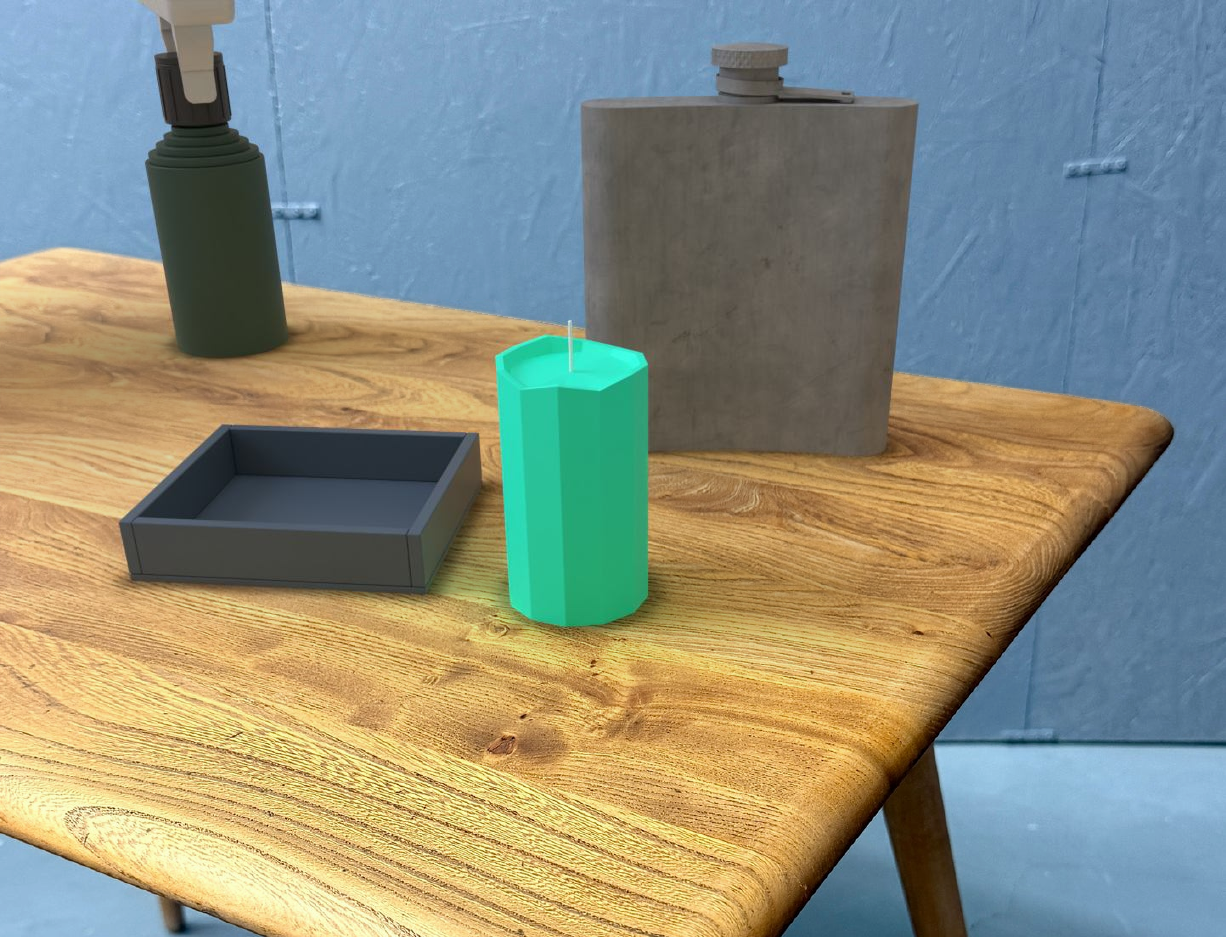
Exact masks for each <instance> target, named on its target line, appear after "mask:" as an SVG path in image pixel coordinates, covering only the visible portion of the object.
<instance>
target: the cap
mask: <svg viewBox="0 0 1226 937" xmlns="http://www.w3.org/2000/svg"><path fill="white" fill-rule="evenodd" d="M153 59H154V64H155V67H154V68H155V69H154V70H155V74H156V81H157V86H158V93H159V100H160V104H161V109H162V110H161V112H162V117H163V120H164V123H165V124H167V125H170V126H171V125H177V126H201V125H212V124H219V123H224V122H228V123H229V122H230V121H231V120H232V116H233V115H232V107H231V101H230V100H231V99H230V93H229V86H228V79H227V72H226V65H225V63H224V55H223V52H221V51H216V50H214V69H213V71H214V78H215V85H216V92H217V96H216V99H215V100H214V101H213V102H211V103H196V104H193V103H191V102H189V101H188V100H187V99H186V98H185V96H184V95H183V91H182V84H181V79H180V72H179V69H180V67H179V62H178V56H177V52H167V53H166V52H161V53H156V54H154V55H153Z"/></svg>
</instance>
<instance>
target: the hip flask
mask: <svg viewBox="0 0 1226 937" xmlns="http://www.w3.org/2000/svg"><path fill="white" fill-rule="evenodd" d="M710 56H711V57H710V59H711V60H710V64H711V66H714V67H719V68H718V69H719V70H718V72H717V73H716V74H715V86H714V89H715V90H716V91H717V95H684V96H683V95H679V96H677V95H675V96H641V97H640V96H636V97H607V98H593V99H587V100H584V101H581V102H580V141H581V144H580V145H581V147H580V148H581V185H582V186H581V187H582V188H581V189H582V228H583V229H582V231H583V234H582V235H583V271H584V273H583V276H584V277H583V278H584V280H583V281H584V282H583V283H584V317H585V318H584V319H585V320H584V322H585V323H584V324H585V325H584V326H585V339H586V340H590V341H595V342H599V343H603V344H608V345H612V346H617V347H621V348H625V349H629V350H633V351H636V352H640V353H643V355H644V357H645V359H646V361H647V363H648V453H654V452H657V453H658V452H687V451H691V452H693V451H739V452H741V451H745V452H747V451H749V452H752V451H753V452H782V453H783V452H786V453H803V454H804V453H805V454H819V455H820V454H821V455H833V456H845V457H857V458H859V457H864V458H865V457H872V456H875V455H880V454H882V453H883V452H885V451H886V449H887V444H888V443H887V442H888V433H889V432H888V431H889V421H890V410H891V400H892V390H893V378H894V369H895V358H896V347H897V336H898V327H899V315H900V306H901V295H902V285H903V275H904V274H903V273H904V264H905V253H906V242H907V241H906V240H907V234H908V233H907V232H908V221H909V211H910V202H911V189H912V180H913V171H914V170H913V167H914V158H915V148H916V138H917V126H918V117H919V108H920V107H919V106H920V102H919V101H918V100H916V99H912V98H906V97H895V96H894V97H893V96H865V95H863V96H862V95H861V96H860V95H859V96H858V95H856V96H855V92H854V91H852V90H842V89H841V90H840V89H825V88H814V87H798V86H788V85H787V86H785V85H784V82H785V78H784V77H782V76H779V75H780V67H783V66H784V67H785V66H787V65H788V63H789V62H788V61H789V46H788V45H784V44H780V43H779V44H778V43H770V42H760V41H759V42H757V41H742V42H732V43H731V42H730V43H723V44H715V45H712V46H711V51H710Z"/></svg>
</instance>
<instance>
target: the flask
mask: <svg viewBox="0 0 1226 937" xmlns="http://www.w3.org/2000/svg"><path fill="white" fill-rule="evenodd" d="M162 138H163V139H161V140H158V141H157V142H156V143H155V148H153V149H151V150H149V151H148V152H147V157H148V158H147V159H146V160H145V161H144V166H145V171H146V177H147V183H148V189H149V194H150V200H151V205H152V210H153V217H154V221H155V222H154V223H155V228H156V233H157V239H158V245H159V250H160V256H161V262H162V267H163V272H164V277H165V278H164V279H165V284H166V289H167V296H168V300H169V306H170V311H171V317H172V323H173V329H174V334H175V341H176V345H177V349H178V350H179V352H181V353H183V354H185V355H188V356H191V357H197V358H204V359H232V358H241V357H249V356H253V355H258V354H263V353H266V352H270V351H272V350H275V349H277V348H280V347H282V346H283V345H285V344H286V343H288V341H289V338H290V336H289V328H288V323H287V314H286V313H287V312H286V307H285V299H284V293H283V291H284V290H283V285H282V278H281V270H280V263H279V255H278V248H277V240H276V234H275V232H276V231H275V225H274V217H273V211H272V210H273V209H272V203H271V196H270V189H269V188H270V187H269V180H268V174H267V166H266V159H265V154H264V153H262V152H261V151H260V147H259V145H257V144H255V143H253V142H250V140H249V138H248V137H247V136H245V135H240V132H239V130H238V129H237V128H232V127H230V124H229V121H228V122H224V123H219V124H212V125H201V126H177V125H170V130H169V131H167V132H165V133H163V135H162Z"/></svg>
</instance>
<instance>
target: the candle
mask: <svg viewBox="0 0 1226 937" xmlns="http://www.w3.org/2000/svg"><path fill="white" fill-rule="evenodd" d="M567 330H568V332H567V333H568V334H567V335H568V336H561V335H552V334H542V335H541V336H537V337H534V338H532V339H529V340H526V341H524V342H521V343H518V344H515V345H512V346H511V347H509V348H507V349H505V350H504V351H501V352H500V353H498V354H496V355H495V356H494V357H495V360H494V361H495V372H496V373H495V374H496V389H497V390H496V391H497V393H496V394H497V409H498V424H499V425H498V426H499V427H498V428H499V443H500V461H501V474H502V475H501V476H502V477H501V478H502V493H503V494H502V496H503V511H504V512H503V513H504V527H505V528H504V529H505V544H506V546H505V547H506V561H507V562H506V563H507V578H508V579H507V580H508V591H509V592H508V594H509V603H510V606H511V607H512V608H513V609H514V610H517V611H518V612H519V613H521V614H522V615H523V616H525V617H526V618H528V619H529V620H530V621H536V622H540V623H545V624H550V625H555V626H558V627H559V626H560V627H564V628H570V627H585V626H598V625H599V626H600V625H605V624H609V623H611V622H613V621H616V620H619V619H621V618H624V617H627V616H629V615H632V614H634V613H635V612H636V611H637V610H638V609H639V608H640V607H641V606H642V604H644V602H645V601H646V600H647V598H648V597H649V452H648V363H647V361H646V359H645V357H644V355H643V353H640V352H636V351H633V350H629V349H625V348H621V347H617V346H612V345H608V344H603V343H599V342H595V341H590V340H586V338H578V337H573V321H572V320H571V319H570V320H568V321H567Z"/></svg>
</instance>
